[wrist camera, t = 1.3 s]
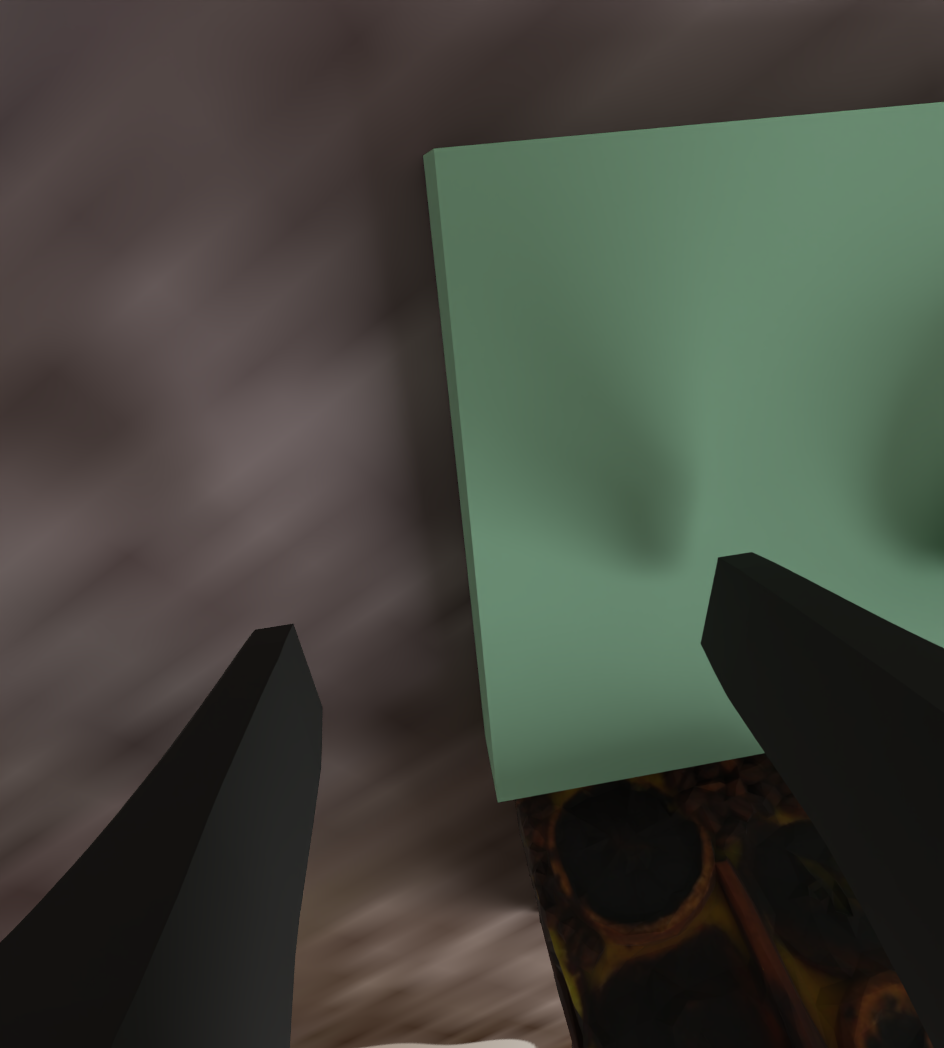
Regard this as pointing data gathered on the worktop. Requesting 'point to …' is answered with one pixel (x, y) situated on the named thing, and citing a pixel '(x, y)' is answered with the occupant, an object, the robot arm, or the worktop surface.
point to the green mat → (684, 410)
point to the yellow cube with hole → (706, 917)
